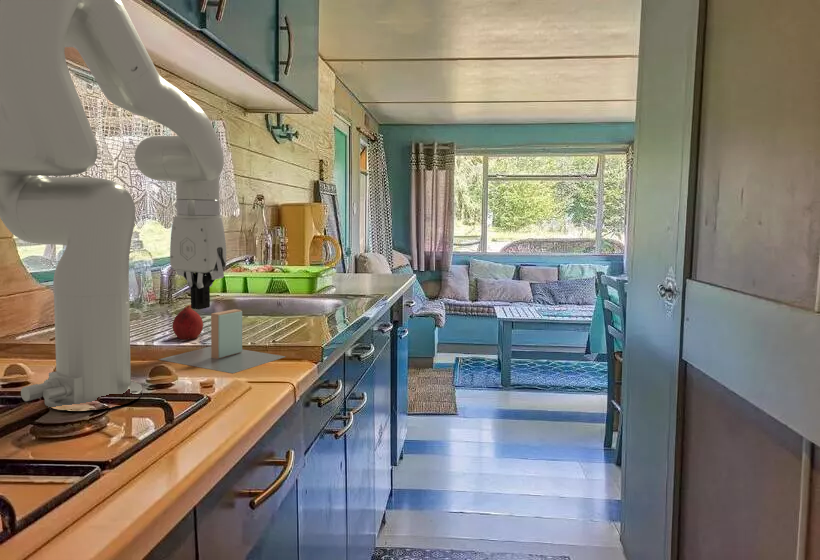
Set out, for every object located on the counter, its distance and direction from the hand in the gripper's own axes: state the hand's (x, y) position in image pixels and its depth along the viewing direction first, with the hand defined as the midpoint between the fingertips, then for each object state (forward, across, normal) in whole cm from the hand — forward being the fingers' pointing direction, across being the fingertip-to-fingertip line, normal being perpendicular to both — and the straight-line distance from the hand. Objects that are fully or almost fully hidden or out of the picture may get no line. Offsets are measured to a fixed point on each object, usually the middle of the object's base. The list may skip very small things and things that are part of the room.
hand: (200, 307), depth 117 cm
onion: (+10, -10, +6) cm, 15 cm away
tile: (+8, +7, -1) cm, 11 cm away
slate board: (+9, +8, -3) cm, 13 cm away
